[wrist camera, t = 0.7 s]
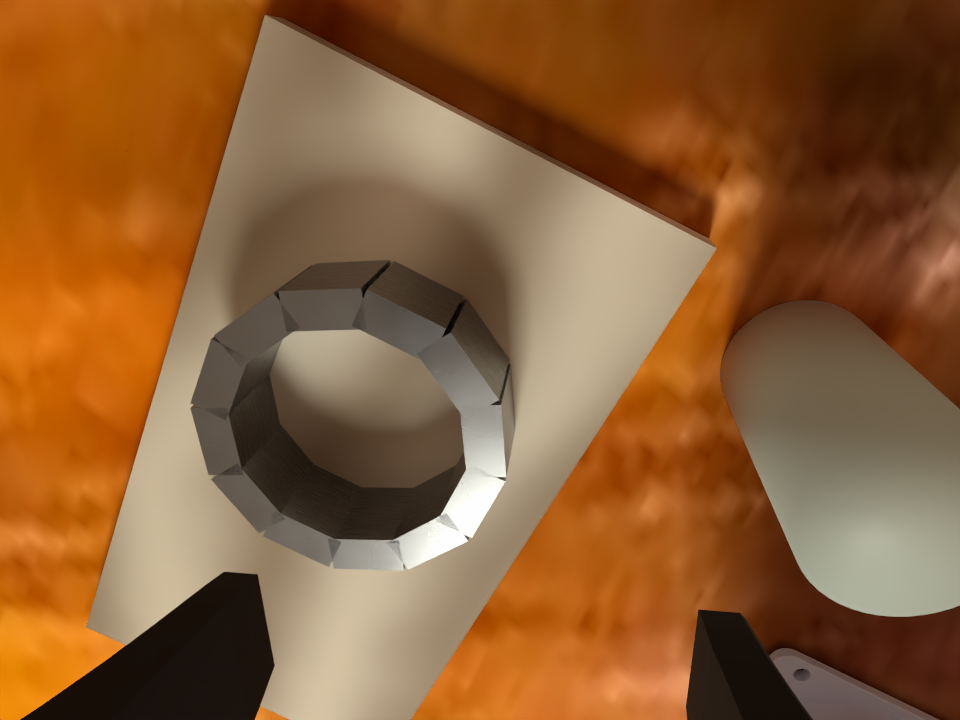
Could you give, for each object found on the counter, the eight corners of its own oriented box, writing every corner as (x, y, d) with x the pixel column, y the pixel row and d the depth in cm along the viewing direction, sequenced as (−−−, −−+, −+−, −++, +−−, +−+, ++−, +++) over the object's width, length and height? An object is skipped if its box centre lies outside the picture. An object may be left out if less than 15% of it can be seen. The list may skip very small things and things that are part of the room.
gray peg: (910, 342, 18) (1095, 496, 11) (814, 457, 19) (929, 647, 13) (777, 273, 18) (889, 391, 11) (691, 395, 19) (746, 558, 13)
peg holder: (709, 239, 17) (738, 277, 14) (390, 738, 26) (363, 829, 23) (282, 17, 17) (211, 5, 14) (103, 607, 26) (36, 683, 22)
